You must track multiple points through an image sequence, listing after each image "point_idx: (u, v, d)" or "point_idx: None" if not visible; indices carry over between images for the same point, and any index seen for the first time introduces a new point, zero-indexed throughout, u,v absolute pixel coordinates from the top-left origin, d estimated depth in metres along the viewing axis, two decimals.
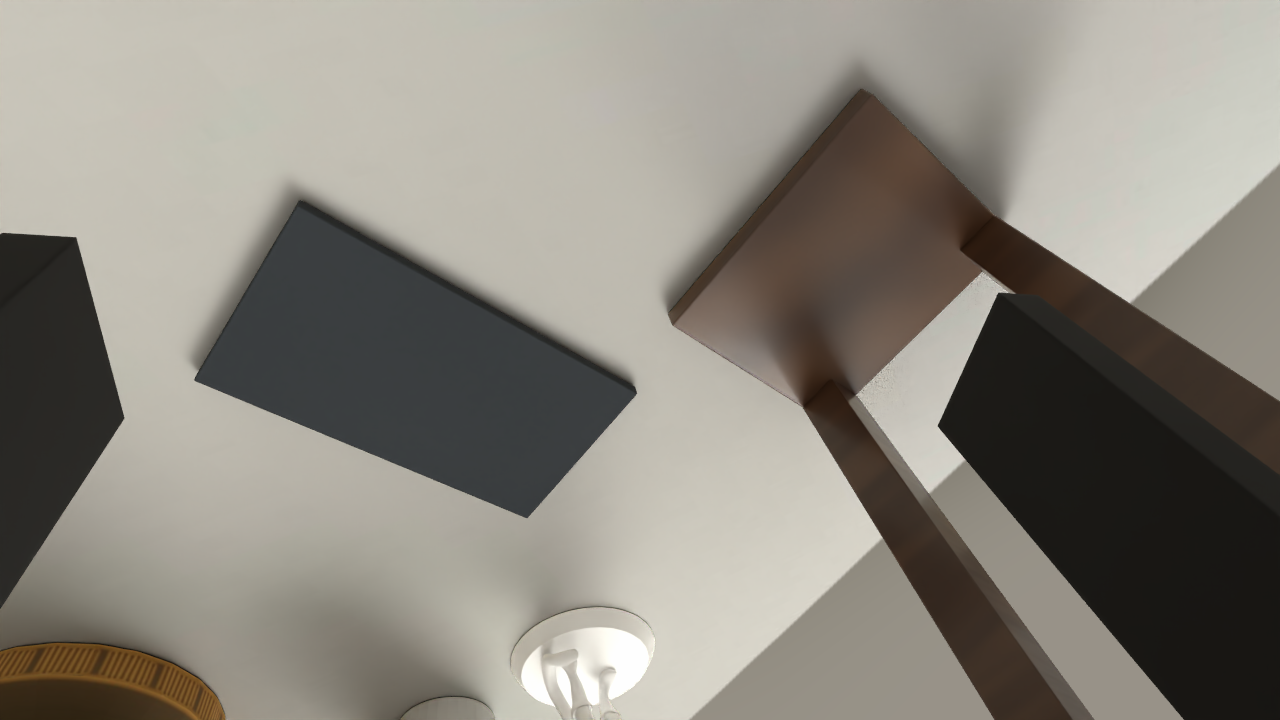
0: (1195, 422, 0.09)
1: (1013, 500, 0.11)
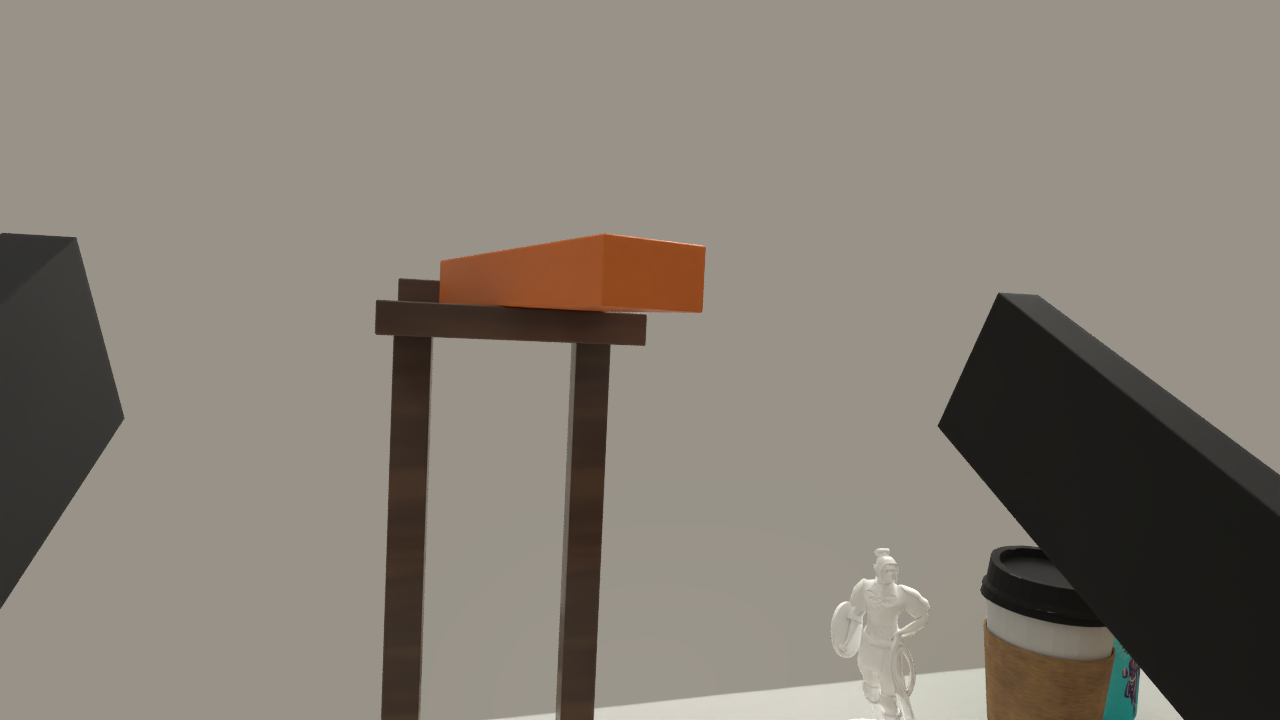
0: (1195, 422, 0.09)
1: (1013, 499, 0.11)
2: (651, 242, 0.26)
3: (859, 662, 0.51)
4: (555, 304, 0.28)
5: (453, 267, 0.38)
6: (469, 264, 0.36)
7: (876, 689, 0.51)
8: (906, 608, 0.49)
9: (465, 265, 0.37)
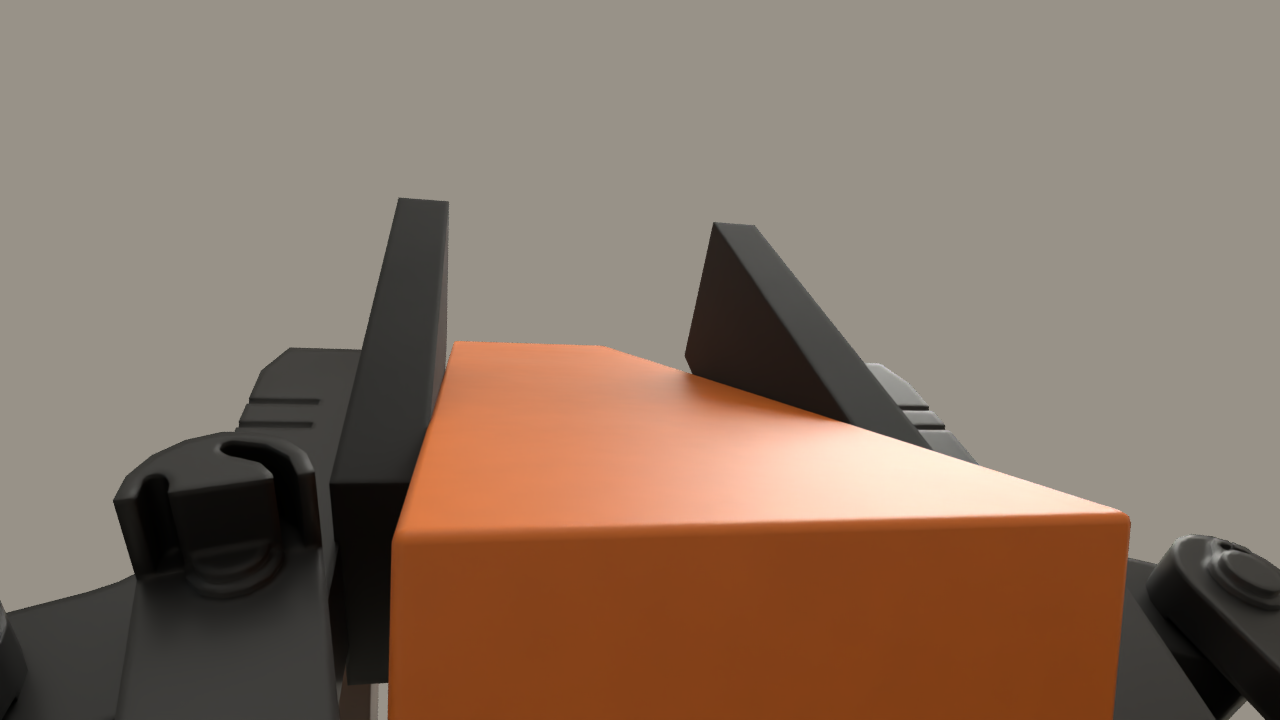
0: (818, 322, 0.10)
1: None
2: (764, 544, 0.04)
3: None
4: None
5: None
6: None
7: None
8: None
9: None
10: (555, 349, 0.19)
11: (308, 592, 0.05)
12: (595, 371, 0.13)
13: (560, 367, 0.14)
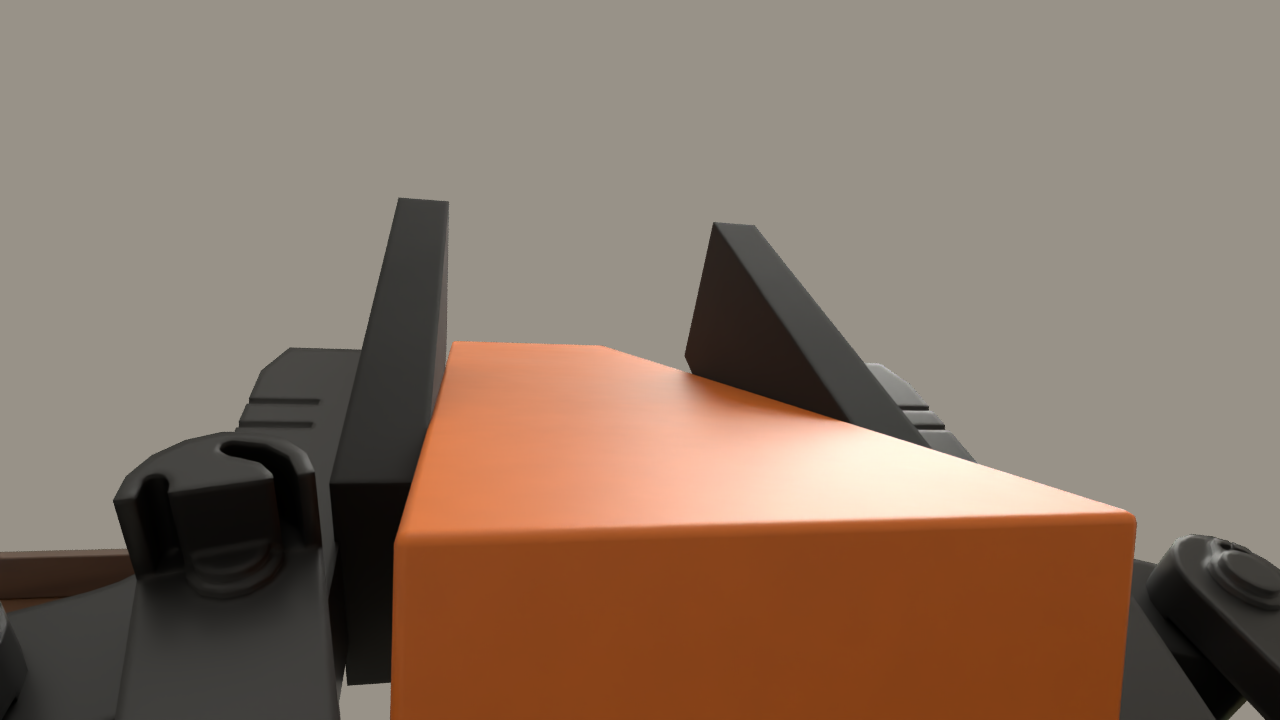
0: (818, 323, 0.10)
1: None
2: (769, 545, 0.04)
3: None
4: None
5: None
6: None
7: None
8: None
9: None
10: (554, 349, 0.19)
11: (308, 592, 0.05)
12: (595, 371, 0.13)
13: (559, 367, 0.13)
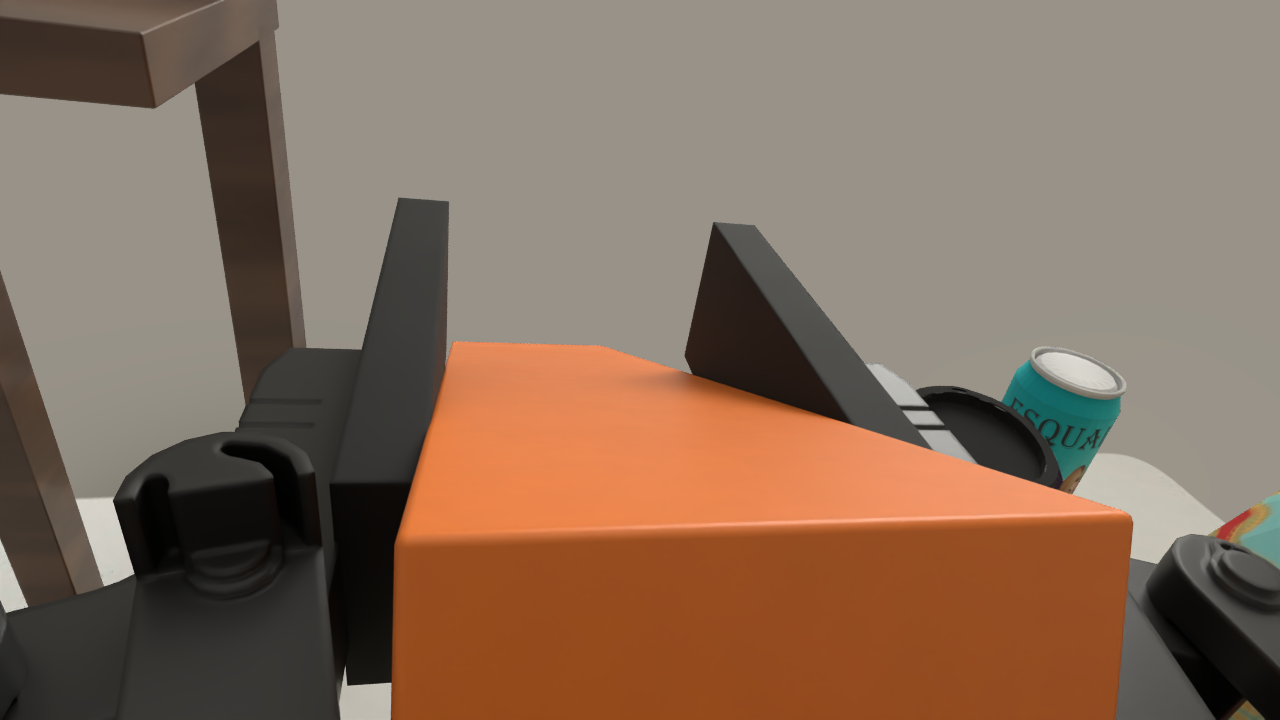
0: (817, 323, 0.10)
1: None
2: (767, 545, 0.04)
3: None
4: None
5: None
6: None
7: None
8: None
9: None
10: (554, 349, 0.19)
11: (308, 592, 0.05)
12: (594, 371, 0.13)
13: (559, 367, 0.13)
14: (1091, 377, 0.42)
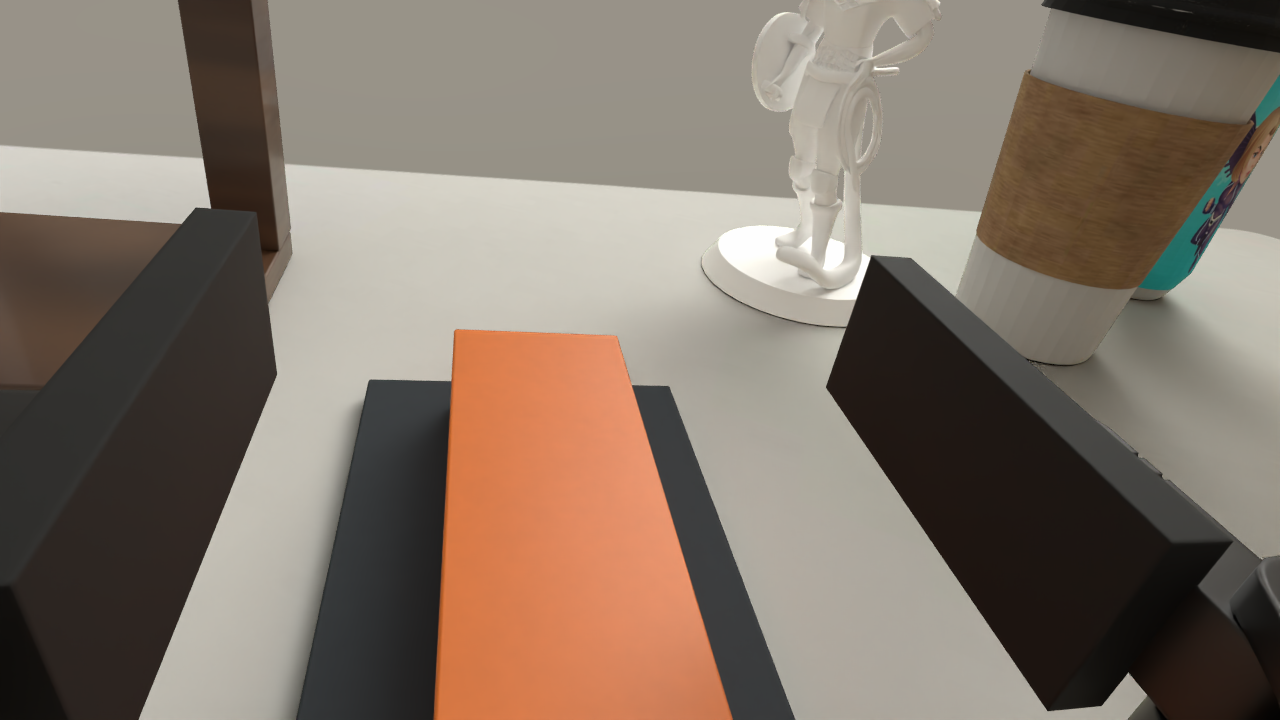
0: (1022, 367, 0.10)
1: (880, 451, 0.12)
2: None
3: (792, 119, 0.30)
4: None
5: None
6: None
7: (810, 167, 0.31)
8: (896, 11, 0.26)
9: None
10: (561, 388, 0.18)
11: None
12: (594, 592, 0.13)
13: (559, 565, 0.13)
14: None
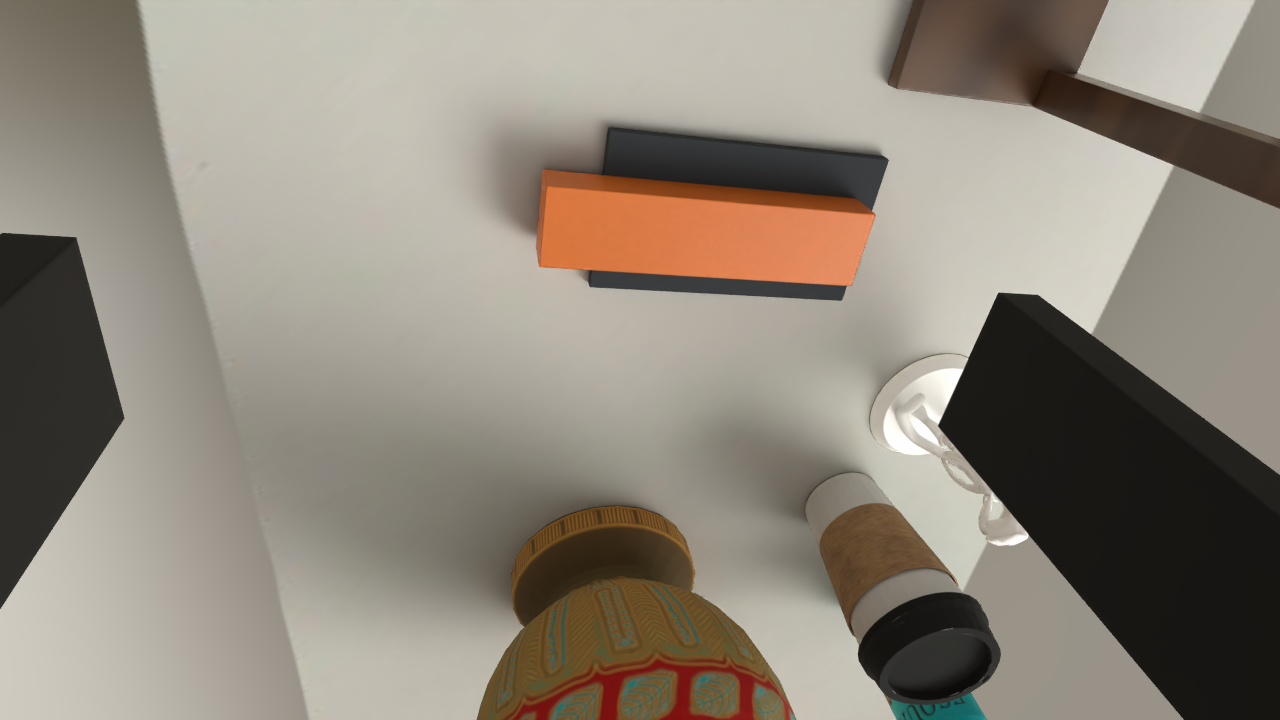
0: (1195, 422, 0.09)
1: (1012, 499, 0.11)
2: (543, 222, 0.37)
3: None
4: None
5: (835, 208, 0.40)
6: (794, 204, 0.39)
7: None
8: (1001, 520, 0.43)
9: (804, 205, 0.40)
10: (818, 254, 0.41)
11: None
12: (713, 247, 0.39)
13: (726, 238, 0.39)
14: None
